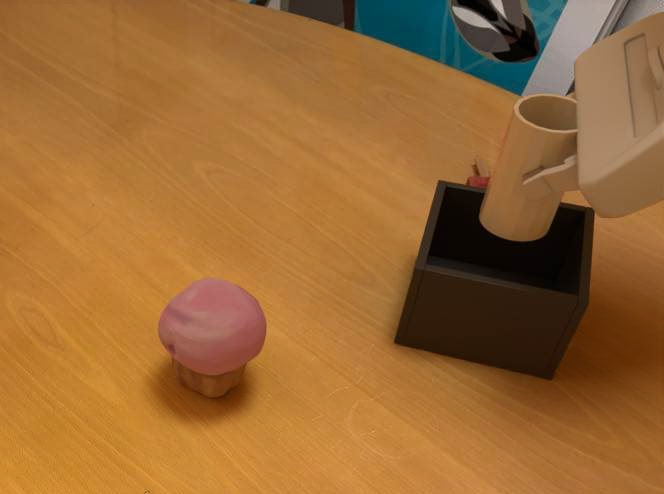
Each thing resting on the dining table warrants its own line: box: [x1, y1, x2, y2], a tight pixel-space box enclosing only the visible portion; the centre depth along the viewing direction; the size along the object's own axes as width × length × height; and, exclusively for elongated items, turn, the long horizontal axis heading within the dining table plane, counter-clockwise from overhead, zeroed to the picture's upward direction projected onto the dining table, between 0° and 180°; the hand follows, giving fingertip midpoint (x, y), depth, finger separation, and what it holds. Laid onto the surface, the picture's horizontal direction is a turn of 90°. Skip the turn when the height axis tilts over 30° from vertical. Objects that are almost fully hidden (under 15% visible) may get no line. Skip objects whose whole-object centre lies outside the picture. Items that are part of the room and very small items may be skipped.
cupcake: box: [157, 277, 267, 399], centre depth 73 cm, size 9×9×10 cm
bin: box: [393, 179, 596, 381], centre depth 78 cm, size 14×14×9 cm
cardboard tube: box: [479, 93, 578, 241], centre depth 70 cm, size 6×6×10 cm
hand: (526, 165), depth 70 cm, fingers closed on cardboard tube, 6 cm apart
